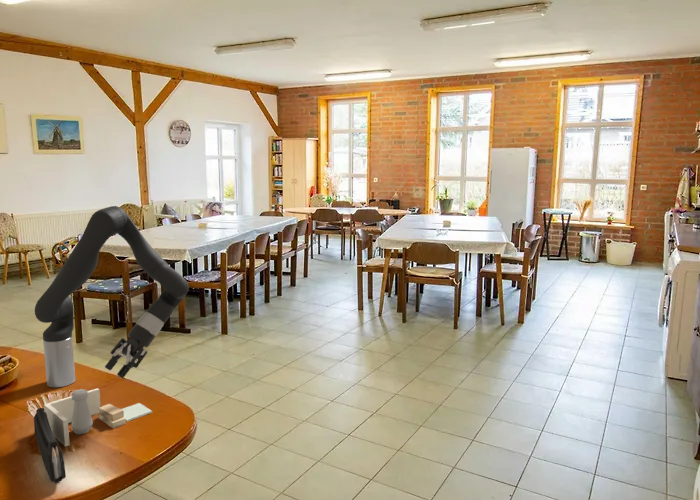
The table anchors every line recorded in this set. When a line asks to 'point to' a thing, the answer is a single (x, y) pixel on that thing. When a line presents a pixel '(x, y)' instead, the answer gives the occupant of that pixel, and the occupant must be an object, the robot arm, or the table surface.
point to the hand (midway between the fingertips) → (113, 372)
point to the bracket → (68, 414)
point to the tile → (135, 411)
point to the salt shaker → (81, 413)
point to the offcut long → (113, 423)
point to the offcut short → (111, 412)
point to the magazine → (49, 447)
